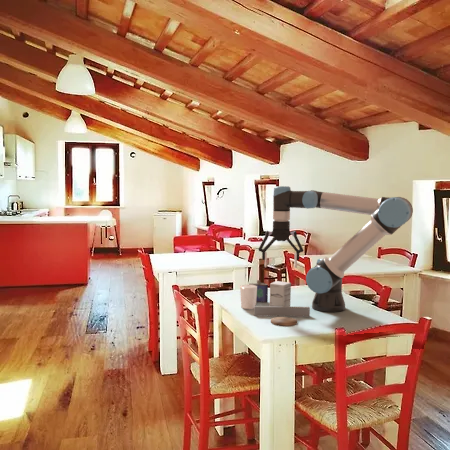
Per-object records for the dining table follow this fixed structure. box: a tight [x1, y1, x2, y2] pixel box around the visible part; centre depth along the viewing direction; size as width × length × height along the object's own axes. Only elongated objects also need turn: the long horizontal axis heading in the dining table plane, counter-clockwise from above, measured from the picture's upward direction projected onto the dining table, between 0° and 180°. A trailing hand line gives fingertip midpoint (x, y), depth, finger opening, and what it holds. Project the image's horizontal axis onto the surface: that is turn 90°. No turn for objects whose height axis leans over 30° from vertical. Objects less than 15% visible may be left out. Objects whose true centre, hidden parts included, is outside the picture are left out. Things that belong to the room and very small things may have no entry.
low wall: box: [253, 305, 311, 318], centre depth 218 cm, size 24×2×4 cm, turn 88°
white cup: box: [239, 284, 257, 310], centre depth 232 cm, size 8×8×10 cm
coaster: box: [270, 316, 298, 327], centre depth 208 cm, size 11×11×1 cm
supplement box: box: [269, 280, 292, 307], centre depth 228 cm, size 7×7×13 cm
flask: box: [248, 279, 269, 304], centre depth 243 cm, size 9×3×11 cm, turn 79°
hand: (280, 267), depth 226 cm, fingers open, 13 cm apart
